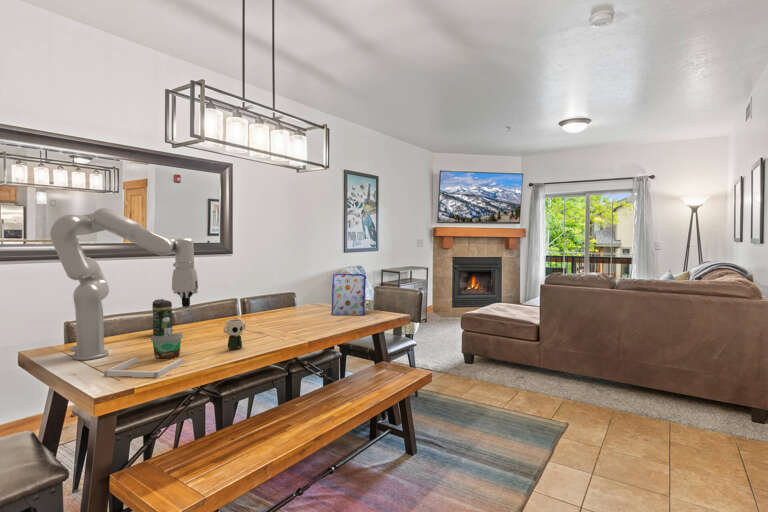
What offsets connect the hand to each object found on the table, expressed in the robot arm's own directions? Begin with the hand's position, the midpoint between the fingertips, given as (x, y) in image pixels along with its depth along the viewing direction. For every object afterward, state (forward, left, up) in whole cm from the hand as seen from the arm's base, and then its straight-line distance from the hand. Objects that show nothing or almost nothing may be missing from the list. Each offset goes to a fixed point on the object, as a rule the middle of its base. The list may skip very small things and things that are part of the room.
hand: (186, 306), depth 189 cm
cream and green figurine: (+21, +4, -20) cm, 29 cm away
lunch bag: (+59, +95, -20) cm, 114 cm away
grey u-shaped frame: (0, -28, -20) cm, 34 cm away
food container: (0, -13, -20) cm, 24 cm away
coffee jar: (-26, +24, -20) cm, 41 cm away
